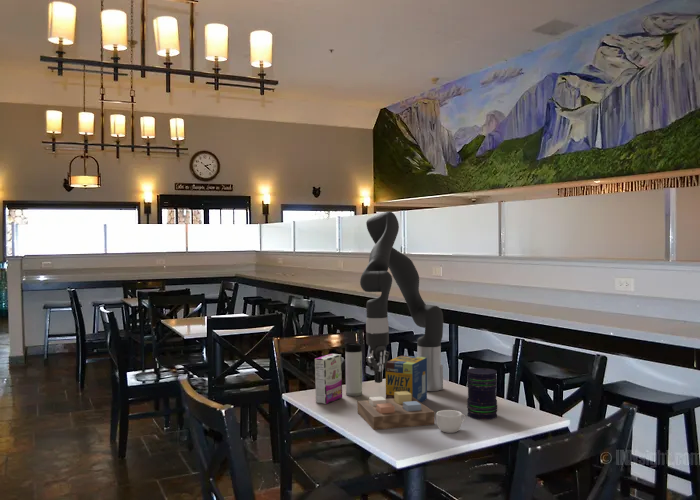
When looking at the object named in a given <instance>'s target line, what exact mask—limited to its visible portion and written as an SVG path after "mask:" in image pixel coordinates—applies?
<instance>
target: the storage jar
mask: <svg viewBox="0 0 700 500" xmlns="http://www.w3.org/2000/svg"><path fill="white" fill-rule="evenodd" d="M497 374H498V372H497V370H496V369H493V368H488V367H474V368H468V369H466V382H467V383H466V387H467V404H466V405H467V406H466V408H467V416H468V417H469V418H471V419H474V420H480V421H481V420H483V421H484V420H485V421H487V420H489V421H490V420H493V419H494V420H495V419H497V418H498V413H497V412H498V400H497V389H498V384H497V383H498V376H497Z"/></svg>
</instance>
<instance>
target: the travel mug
mask: <svg viewBox="0 0 700 500" xmlns="http://www.w3.org/2000/svg"><path fill="white" fill-rule="evenodd" d="M344 345H345V350H344V352H345V355H344V356H345V390H346V391H345V395H346V396H348V397H359V396H362V395H363V362H362V361H363V353H362V352H363V351H362V344H359V343H354V342H344Z"/></svg>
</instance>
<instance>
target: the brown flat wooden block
mask: <svg viewBox="0 0 700 500" xmlns="http://www.w3.org/2000/svg"><path fill="white" fill-rule="evenodd" d="M385 399H386V398H385ZM412 401H417V402H418V403H420V404H421V410H419V411H406V410H405V409H403V404H397V403H396V402H394V398H391V399H386V403H391V404H392V405H393V406H394V407H395V413H382V414H380V413H379V412H378V411H377V406H371V405H370V404H369V399H368V400H367V399H366V400H365V399H364V400H358V401H356V402H357V404H356V405H357V407H356V408H357V414H358V415H359V416H360V417H361V418H362V419H363V420H364V421H365V422H366V423H367V424H368V425H369V426H370V427H371V428H372V430H374V431H376V430H385V429H386V430H387V429H396V428H397V429H398V428H399V429H400V428H409V427H410V428H411V427H420V426H431V425H432V426H433V425H435V411H434V410H433V409H430V407H428V406H427V405H426V404H424V403H422V402H419V401H418V400H417V399H415V398H414V397H412Z"/></svg>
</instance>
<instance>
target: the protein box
mask: <svg viewBox="0 0 700 500" xmlns="http://www.w3.org/2000/svg"><path fill="white" fill-rule="evenodd" d="M401 391H408V392H409V393H411V394H412V397H414V398H415V399H417V400H418V401H419V402H421V403H422V402H424V401H426V400H427V399H428V391H427V358H425V357H417V356H412V355H404V354H401V355H400V356H396V357H395V358H392V359H390V360H388V361H387V364H386V367H385V399H391V398H394V392H401Z"/></svg>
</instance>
